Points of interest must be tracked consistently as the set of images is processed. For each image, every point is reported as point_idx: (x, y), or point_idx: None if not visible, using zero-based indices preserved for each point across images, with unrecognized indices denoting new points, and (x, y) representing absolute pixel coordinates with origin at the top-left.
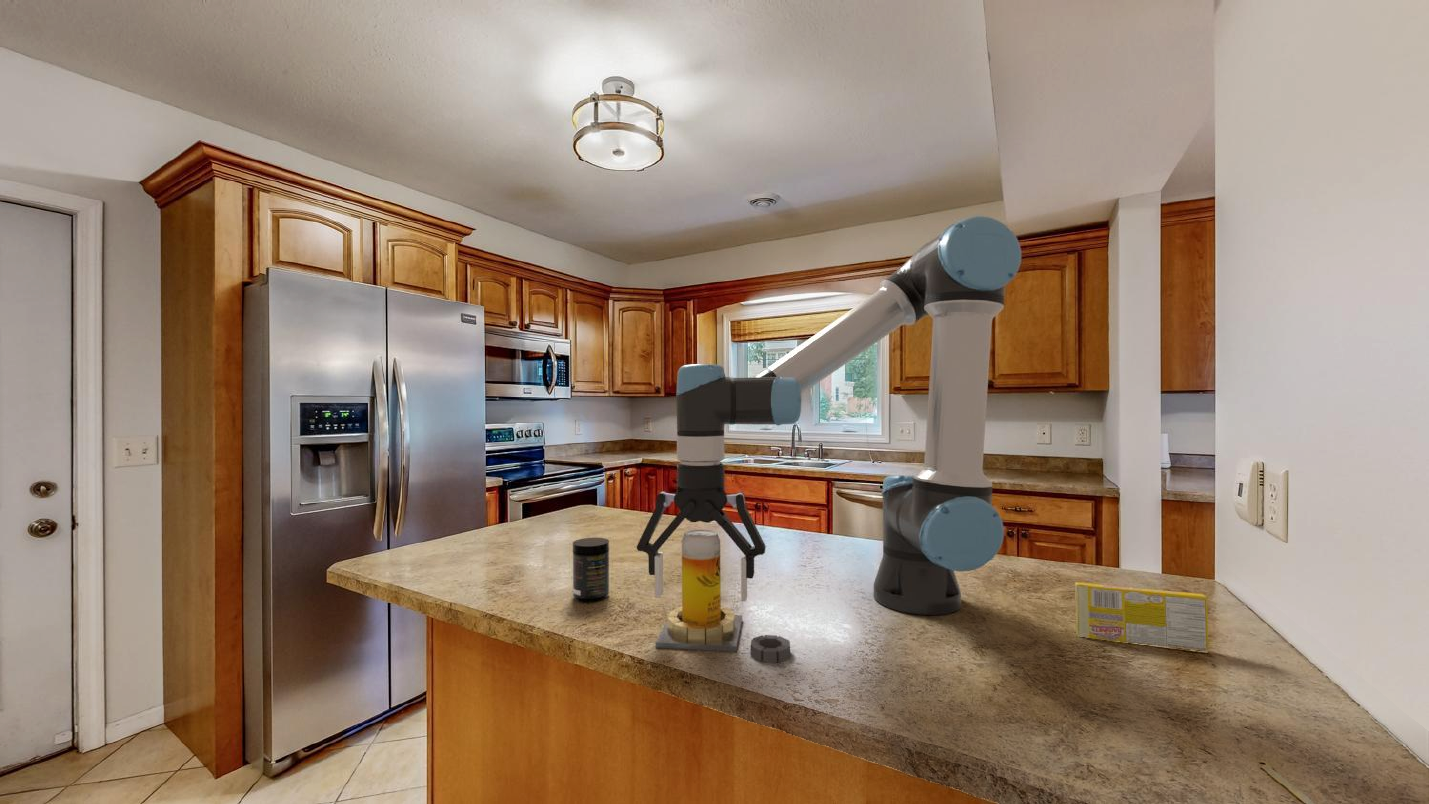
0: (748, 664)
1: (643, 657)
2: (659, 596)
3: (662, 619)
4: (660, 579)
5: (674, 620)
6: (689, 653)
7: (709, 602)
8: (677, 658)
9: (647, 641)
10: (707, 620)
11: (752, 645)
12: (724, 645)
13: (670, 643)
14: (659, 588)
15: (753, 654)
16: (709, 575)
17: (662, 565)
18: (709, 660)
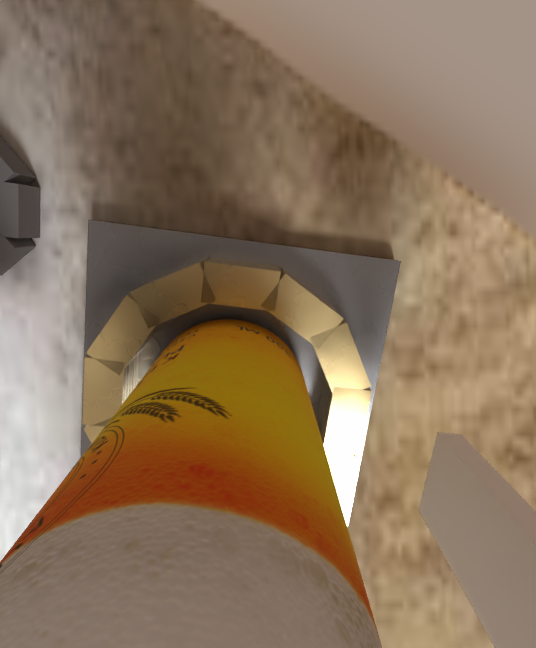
0: (45, 112)
1: (435, 179)
2: (441, 436)
3: (376, 496)
4: (476, 513)
5: (340, 355)
6: (268, 211)
7: (169, 360)
8: (311, 169)
9: (425, 314)
10: (195, 333)
11: (12, 184)
12: (134, 228)
13: (343, 253)
14: (460, 460)
15: (22, 167)
16: (121, 429)
17: (501, 633)
18: (192, 149)
